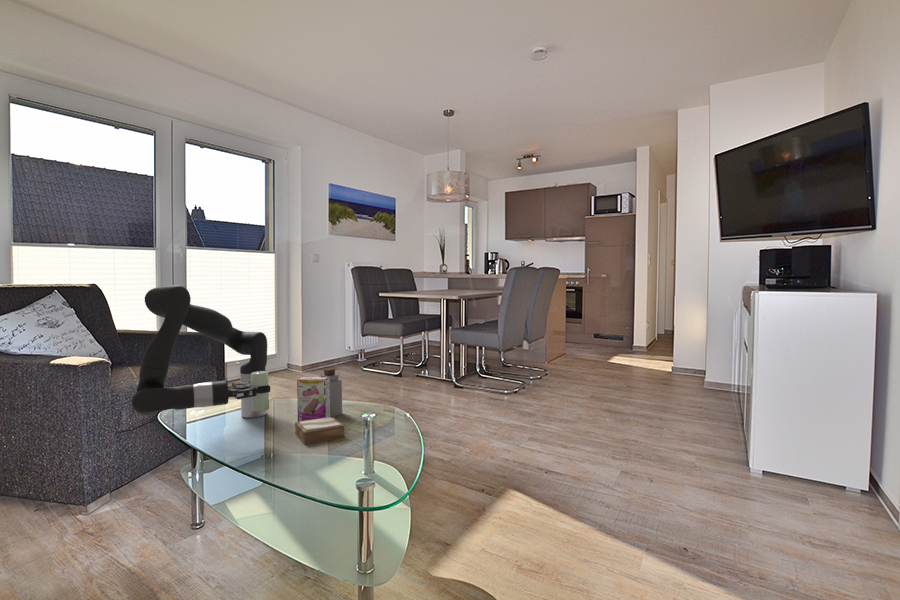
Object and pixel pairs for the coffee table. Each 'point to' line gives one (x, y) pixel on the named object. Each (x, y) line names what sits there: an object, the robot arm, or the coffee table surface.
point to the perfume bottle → (334, 391)
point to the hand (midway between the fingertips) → (268, 386)
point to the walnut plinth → (319, 430)
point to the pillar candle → (261, 399)
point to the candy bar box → (313, 398)
